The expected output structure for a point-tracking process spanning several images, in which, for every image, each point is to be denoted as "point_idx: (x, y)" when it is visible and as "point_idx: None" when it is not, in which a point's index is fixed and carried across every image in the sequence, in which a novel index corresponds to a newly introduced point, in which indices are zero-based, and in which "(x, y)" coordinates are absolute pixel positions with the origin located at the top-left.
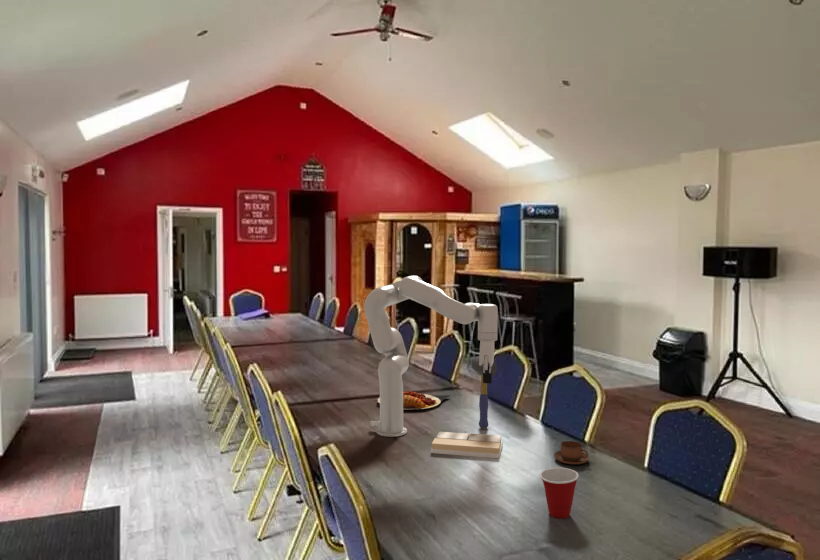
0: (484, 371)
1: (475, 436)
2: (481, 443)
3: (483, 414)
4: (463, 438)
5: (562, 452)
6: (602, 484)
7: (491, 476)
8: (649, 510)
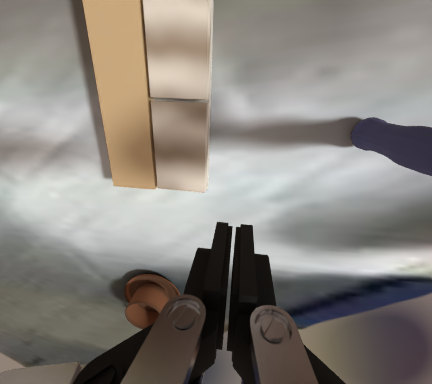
0: (157, 326)
1: (183, 121)
2: (133, 142)
3: (376, 140)
4: (157, 84)
5: (138, 292)
6: (77, 308)
7: (25, 165)
8: (28, 330)
